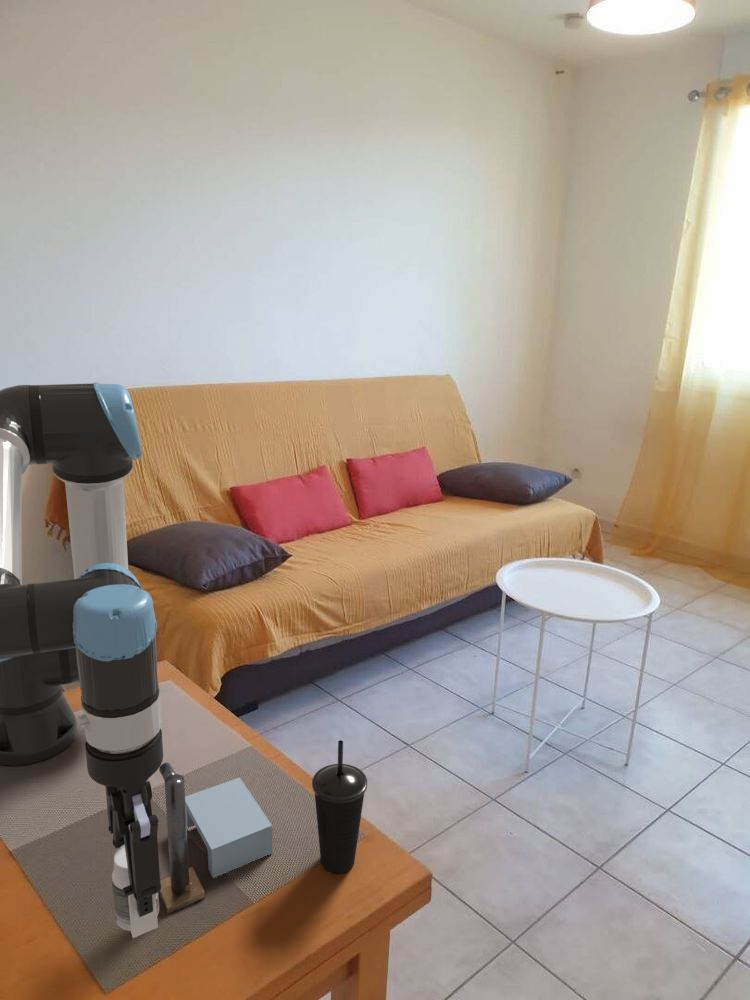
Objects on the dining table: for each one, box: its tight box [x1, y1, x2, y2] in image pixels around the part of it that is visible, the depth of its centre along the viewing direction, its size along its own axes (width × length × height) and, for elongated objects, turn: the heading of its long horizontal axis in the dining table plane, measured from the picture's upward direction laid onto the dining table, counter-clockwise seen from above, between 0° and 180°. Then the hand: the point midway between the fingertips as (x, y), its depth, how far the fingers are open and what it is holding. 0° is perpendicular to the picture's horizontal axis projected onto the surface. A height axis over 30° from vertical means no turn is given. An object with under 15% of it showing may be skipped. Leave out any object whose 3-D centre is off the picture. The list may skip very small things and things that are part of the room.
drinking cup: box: [311, 740, 368, 875], centre depth 100 cm, size 8×8×20 cm
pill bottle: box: [111, 844, 160, 932], centre depth 80 cm, size 5×5×8 cm
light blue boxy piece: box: [185, 777, 273, 879], centre depth 106 cm, size 12×9×5 cm
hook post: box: [158, 762, 206, 915], centre depth 95 cm, size 6×5×18 cm
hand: (137, 911), depth 81 cm, fingers closed on pill bottle, 5 cm apart
